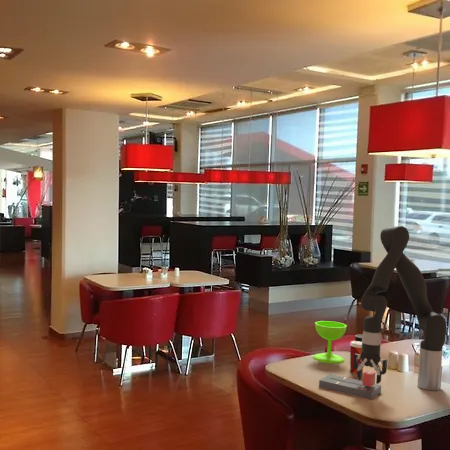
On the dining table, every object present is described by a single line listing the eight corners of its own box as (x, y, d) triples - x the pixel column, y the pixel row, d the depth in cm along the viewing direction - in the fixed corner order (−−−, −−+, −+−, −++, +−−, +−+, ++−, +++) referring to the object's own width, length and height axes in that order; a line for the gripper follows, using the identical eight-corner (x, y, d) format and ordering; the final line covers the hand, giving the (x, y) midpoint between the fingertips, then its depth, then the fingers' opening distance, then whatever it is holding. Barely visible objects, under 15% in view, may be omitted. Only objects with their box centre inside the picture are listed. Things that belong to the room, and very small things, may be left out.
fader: (374, 385, 234) (375, 372, 234) (370, 388, 230) (371, 374, 229) (366, 383, 236) (367, 370, 236) (362, 386, 232) (363, 372, 231)
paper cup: (360, 375, 259) (362, 345, 259) (345, 371, 264) (347, 342, 263) (367, 372, 265) (369, 343, 265) (352, 368, 270) (354, 339, 269)
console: (380, 392, 236) (381, 385, 236) (371, 399, 226) (372, 392, 226) (329, 380, 248) (330, 373, 248) (318, 387, 238) (319, 379, 238)
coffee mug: (358, 351, 303) (359, 333, 303) (373, 355, 298) (374, 336, 298) (348, 355, 294) (349, 336, 294) (363, 359, 289) (364, 340, 289)
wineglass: (342, 365, 275) (344, 329, 274) (310, 360, 280) (312, 325, 279) (346, 357, 290) (348, 323, 289) (315, 353, 295) (317, 319, 294)
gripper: (391, 343, 231) (388, 383, 232) (357, 337, 239) (355, 375, 240) (385, 346, 225) (383, 387, 226) (351, 340, 233) (349, 379, 233)
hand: (368, 381), depth 233 cm, fingers open, 7 cm apart
